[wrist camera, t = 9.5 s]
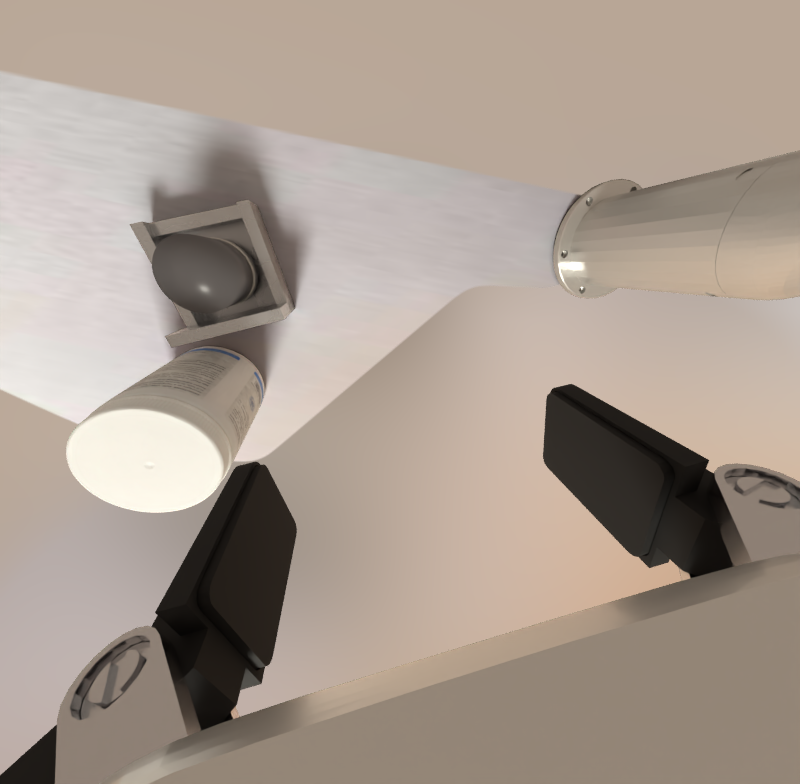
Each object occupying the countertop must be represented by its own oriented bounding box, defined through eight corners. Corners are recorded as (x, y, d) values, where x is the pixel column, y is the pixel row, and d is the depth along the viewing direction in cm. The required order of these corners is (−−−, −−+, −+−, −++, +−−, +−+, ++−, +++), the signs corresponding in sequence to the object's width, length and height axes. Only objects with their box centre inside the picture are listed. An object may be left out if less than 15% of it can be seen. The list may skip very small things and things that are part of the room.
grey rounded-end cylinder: (244, 233, 27) (216, 224, 20) (268, 295, 29) (251, 305, 23) (180, 246, 26) (132, 241, 20) (211, 309, 29) (177, 322, 22)
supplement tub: (155, 384, 31) (23, 471, 18) (210, 325, 30) (111, 373, 17) (233, 434, 36) (172, 534, 22) (285, 384, 34) (252, 459, 21)
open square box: (257, 206, 27) (233, 189, 20) (295, 308, 31) (284, 319, 25) (152, 228, 26) (93, 217, 20) (206, 330, 30) (171, 347, 24)
